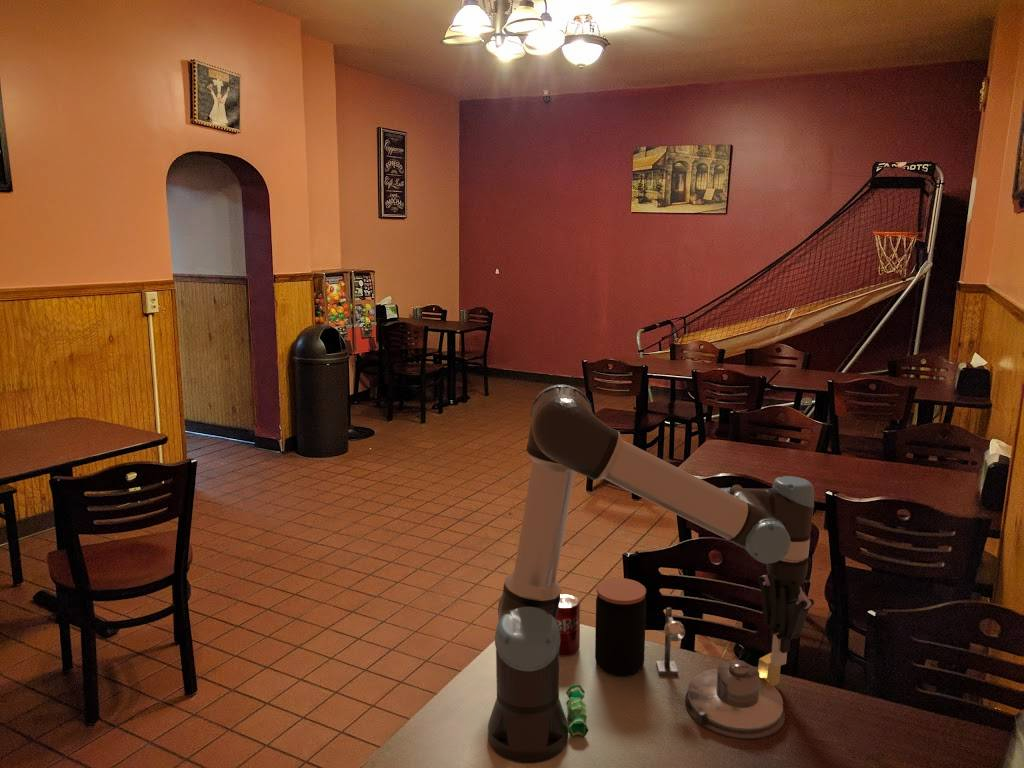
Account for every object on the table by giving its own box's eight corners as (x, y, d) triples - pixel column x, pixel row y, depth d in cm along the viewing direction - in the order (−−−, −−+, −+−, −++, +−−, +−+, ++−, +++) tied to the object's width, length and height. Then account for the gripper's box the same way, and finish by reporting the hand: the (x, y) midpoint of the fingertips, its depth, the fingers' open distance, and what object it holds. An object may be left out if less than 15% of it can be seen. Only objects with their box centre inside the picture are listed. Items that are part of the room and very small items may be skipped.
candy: (592, 734, 138) (579, 718, 138) (576, 743, 139) (564, 727, 138) (588, 696, 150) (576, 680, 150) (573, 704, 151) (562, 689, 150)
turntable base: (696, 739, 138) (696, 736, 138) (676, 679, 157) (677, 677, 156) (799, 740, 137) (799, 737, 137) (767, 680, 156) (767, 677, 156)
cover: (755, 712, 141) (757, 680, 140) (712, 701, 144) (714, 670, 143) (761, 689, 148) (763, 659, 147) (720, 679, 152) (721, 650, 150)
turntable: (778, 743, 135) (780, 714, 134) (679, 718, 142) (680, 690, 141) (787, 681, 154) (789, 655, 153) (699, 662, 161) (700, 637, 160)
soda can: (545, 641, 172) (545, 594, 169) (576, 639, 172) (576, 592, 170) (550, 659, 165) (550, 609, 162) (582, 657, 165) (583, 607, 163)
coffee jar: (642, 652, 167) (644, 578, 163) (645, 680, 157) (648, 601, 153) (594, 650, 168) (595, 576, 165) (595, 677, 158) (596, 599, 154)
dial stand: (663, 689, 153) (665, 623, 150) (656, 664, 162) (658, 601, 159) (682, 689, 153) (685, 623, 150) (674, 664, 162) (676, 601, 159)
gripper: (828, 564, 141) (817, 676, 146) (778, 539, 153) (769, 643, 158) (798, 571, 138) (788, 685, 143) (750, 545, 150) (741, 651, 154)
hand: (778, 663), depth 150 cm, fingers closed
